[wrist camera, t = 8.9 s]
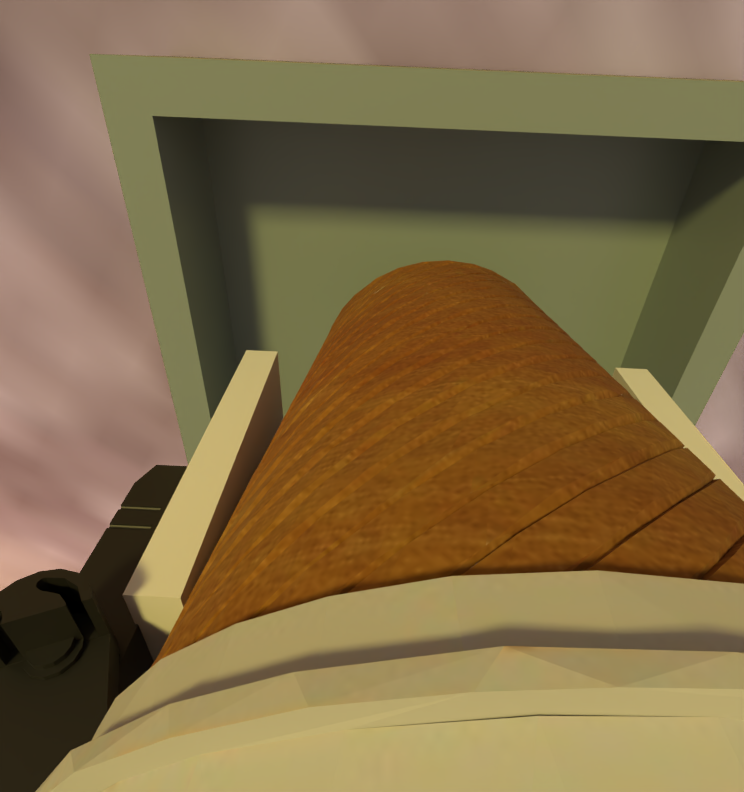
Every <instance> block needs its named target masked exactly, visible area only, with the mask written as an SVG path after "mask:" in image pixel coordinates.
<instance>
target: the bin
mask: <svg viewBox="0 0 744 792" xmlns="http://www.w3.org/2000/svg"><path fill="white" fill-rule="evenodd" d="M90 59H91V63H92V67H93V71H94V75H95V79H96V84H97V88H98V92H99V96H100V100H101V104H102V108H103V113H104V117H105V121H106V125H107V129H108V133H109V137H110V142H111V146H112V150H113V154H114V158H115V162H116V166H117V171H118V175H119V179H120V183H121V187H122V191H123V196H124V200H125V204H126V208H127V212H128V216H129V220H130V225H131V229H132V233H133V237H134V241H135V245H136V249H137V254H138V258H139V262H140V266H141V270H142V274H143V279H144V283H145V287H146V291H147V295H148V299H149V303H150V308H151V312H152V316H153V320H154V324H155V328H156V332H157V337H158V341H159V345H160V349H161V353H162V357H163V361H164V366H165V370H166V374H167V378H168V382H169V386H170V391H171V395H172V399H173V403H174V407H175V411H176V415H177V420H178V424H179V428H180V432H181V436H182V440H183V444H184V449H185V453H186V457H187V461H188V465H189V463H190V461H191V459H192V457H193V455H194V453H195V451H196V449H197V447H198V445H199V443H200V441H201V439H202V437H203V435H204V433H205V431H206V429H207V427H208V425H209V423H210V421H211V419H212V417H213V415H214V413H215V411H216V409H217V407H218V405H219V403H220V401H221V399H222V397H223V395H224V393H225V391H226V390H227V388H228V386H229V384H230V382H231V380H232V378H233V376H234V374H235V372H236V370H237V368H238V366H239V364H240V362H241V360H242V358H243V356H244V354H245V352H246V350H254V351H276V352H278V361H279V373H280V385H281V397H282V408H283V418H284V416H285V415H286V413H287V411H288V409H289V407H290V405H291V403H292V401H293V400H294V398H295V396H296V394H297V392H298V390H299V389H300V387H301V385H302V383H303V381H304V379H305V377H306V375H307V374H308V372H309V370H310V368H311V366H312V364H313V362H314V360H315V359H316V357H317V355H318V353H319V351H320V349H321V347H322V345H323V343H324V341H325V340H326V338H327V336H328V334H329V332H330V330H331V327H332V325H333V323H334V322H335V320H336V318H337V317H338V315H339V313H340V312H341V310H342V308H343V307H344V306H345V305H346V304H347V303H348V302H349V301H350V299H351V298H352V297H353V296H354V295H355V294H357V293H358V292H359V291H360V290H362V289H363V288H364V287H366V286H367V285H368V284H370V283H371V282H372V281H373V280H375V279H376V278H378V277H380V276H382V275H384V274H386V273H389V272H391V271H393V270H395V269H397V268H400V267H404V266H408V265H412V264H416V263H420V262H427V261H446V260H450V261H457V262H464V263H471V264H475V265H478V266H481V267H484V268H487V269H489V270H492V271H494V272H496V273H497V274H499V275H501V276H502V277H504V278H506V279H508V280H509V281H511V282H513V283H515V284H516V285H517V286H518V287H519V288H520V289H521V290H522V291H523V292H524V293H525V294H526V295H527V296H528V297H529V298H530V299H531V300H532V301H533V302H534V303H535V304H536V305H537V306H538V307H539V308H540V309H542V310H543V311H544V312H545V314H546V315H547V316H549V317H550V318H551V319H552V320H553V321H554V322H555V323H557V324H558V326H559V327H560V328H561V329H563V330H564V331H565V332H566V333H567V334H568V335H569V336H570V337H571V338H572V339H573V340H574V341H575V342H576V343H578V344H579V345H580V346H581V347H582V348H583V350H585V351H586V352H587V353H588V354H589V355H590V356H591V357H592V358H594V359H595V360H596V361H597V363H598V364H599V365H600V366H602V367H603V368H604V369H605V370H606V371H607V372H608V373H609V374H610V375H611V376H613V373H614V370H615V368H633V369H647V370H648V371H649V372H650V373H651V374H652V376H653V377H654V378H655V379H656V380H657V382H658V383H659V384H660V385H661V386H662V388H663V389H664V390H665V391H666V392H667V394H668V395H669V396H670V397H671V398H672V400H673V401H674V402H675V403H676V404H677V406H678V407H679V408H680V409H681V410H682V412H683V413H684V414H685V415H686V416H687V418H688V419H689V420H690V421H691V422H692V424H693V425H694V426H695V425H696V423H697V421H698V419H699V417H700V415H701V413H702V411H703V409H704V407H705V405H706V404H707V402H708V400H709V398H710V396H711V394H712V392H713V390H714V388H715V386H716V384H717V382H718V381H719V379H720V377H721V375H722V373H723V371H724V369H725V367H726V365H727V363H728V361H729V359H730V358H731V356H732V354H733V352H734V350H735V348H736V346H737V344H738V342H739V340H740V338H741V337H742V335H743V333H744V81H733V80H710V79H687V78H663V77H640V76H617V75H593V74H570V73H547V72H523V71H500V70H476V69H453V68H430V67H406V66H383V65H360V64H336V63H313V62H290V61H266V60H243V59H220V58H196V57H173V56H140V55H104V54H90Z"/></svg>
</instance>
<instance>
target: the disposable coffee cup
mask: <svg viewBox="0 0 744 792" xmlns="http://www.w3.org/2000/svg"><path fill="white" fill-rule="evenodd" d="M684 446H685V445H684V444H683V443H682V442H681V441H680V440H679V439H678V438H677V437H676V436H675V435H673V434H672V433H671V432H670V431H669V430H668V429H667V428H666V427H665V426H664V425H663V424H662V423H661V422H659V421H658V420H657V419H656V418H655V417H654V416H653V415H652V414H651V413H650V412H649V411H648V410H647V409H646V408H645V407H644V406H643V405H642V404H641V403H640V402H638V401H637V400H636V399H634V398H633V397H632V396H631V394H630V393H629V392H628V391H627V390H626V389H625V388H624V387H623V386H622V385H621V384H619V383H618V382H617V381H616V380H615V379H614V378H613V377H612V376H611V375H610V374H609V373H608V372H607V371H606V370H605V369H604V368H603V367H602V366H600V365H599V364H598V363H597V361H596V360H595V359H594V358H592V357H591V356H590V355H589V354H588V353H587V352H586V351H585V350H583V348H582V347H581V346H580V345H579V344H578V343H576V342H575V341H574V340H573V339H572V338H571V337H570V336H569V335H568V334H567V333H566V332H565V331H564V330H563V329H561V328H560V327H559V326H558V324H557V323H555V322H554V321H553V320H552V319H551V318H550V317H549V316H547V315H546V314H545V312H544V311H543V310H542V309H540V308H539V307H538V306H537V305H536V304H535V303H534V302H533V301H532V300H531V299H530V298H529V297H528V296H527V295H526V294H525V293H524V292H523V291H522V290H521V289H520V288H519V287H518V286H517V285H516V284H515V283H513V282H511V281H509V280H508V279H506V278H504V277H502V276H501V275H499V274H497V273H496V272H494V271H492V270H489V269H487V268H484V267H481V266H478V265H475V264H471V263H464V262H457V261H450V260H446V261H427V262H420V263H416V264H412V265H408V266H404V267H400V268H397V269H395V270H393V271H391V272H389V273H386V274H384V275H382V276H380V277H378V278H376V279H375V280H373V281H372V282H371V283H370V284H368V285H367V286H366V287H364V288H363V289H362V290H360V291H359V292H358V293H357V294H355V295H354V296H353V297H352V298H351V299H350V301H349V302H348V303H347V304H346V305H345V306H344V307H343V308H342V310H341V312H340V313H339V315H338V317H337V318H336V320H335V322H334V323H333V325H332V327H331V330H330V332H329V334H328V336H327V338H326V340H325V341H324V343H323V345H322V347H321V349H320V351H319V353H318V355H317V357H316V359H315V360H314V362H313V364H312V366H311V368H310V370H309V372H308V374H307V375H306V377H305V379H304V381H303V383H302V385H301V387H300V389H299V390H298V392H297V394H296V396H295V398H294V400H293V401H292V403H291V405H290V407H289V409H288V411H287V413H286V415H285V416H284V418H283V420H282V422H281V424H280V426H279V428H278V430H277V432H276V433H275V435H274V437H273V439H272V441H271V443H270V445H269V447H268V449H267V450H266V452H265V454H264V456H263V458H262V460H261V462H260V464H259V465H258V467H257V469H256V470H255V472H254V473H253V475H252V477H251V479H250V481H249V483H248V485H247V487H246V489H245V491H244V493H243V495H242V497H241V499H240V501H239V502H238V504H237V506H236V508H235V510H234V512H233V514H232V516H231V518H230V520H229V522H228V524H227V526H226V528H225V530H224V532H223V534H222V536H221V537H220V539H219V541H218V543H217V545H216V547H215V548H214V550H213V552H212V554H211V556H210V558H209V560H208V562H207V564H206V566H205V568H204V569H203V571H202V573H201V575H200V577H199V579H198V580H197V582H196V584H195V586H194V588H193V590H192V592H191V593H190V595H189V598H188V600H187V602H186V604H185V606H184V608H183V610H182V611H181V613H180V615H179V617H178V619H177V621H176V623H175V625H174V627H173V628H172V630H171V632H170V634H169V636H168V638H167V640H166V642H165V644H164V646H163V647H162V649H161V651H160V653H159V655H158V656H157V658H156V660H155V661H154V663H153V664H152V666H151V667H150V669H149V670H148V671H146V672H145V673H144V674H143V675H142V676H141V677H139V678H138V679H137V680H136V681H135V682H134V683H132V684H131V685H130V686H129V687H128V688H127V689H125V690H124V691H123V692H122V693H121V694H120V695H118V696H117V697H116V698H115V700H114V702H113V703H112V705H111V707H110V709H109V710H108V712H107V714H106V715H105V717H104V719H103V720H102V722H101V724H100V726H99V727H98V729H97V731H96V733H95V735H94V737H93V739H92V741H90V742H88V743H86V744H84V745H81V746H79V747H77V748H75V749H73V750H71V751H70V752H69V753H68V754H67V755H66V757H65V758H64V759H63V760H62V761H61V762H60V764H59V765H58V766H57V767H56V768H55V769H54V771H53V772H52V773H51V774H50V775H49V776H48V778H47V779H46V780H45V781H44V782H43V783H42V784H41V786H40V787H39V788H38V789H37V790H36V791H35V792H744V501H743V500H742V499H741V498H740V497H739V496H738V495H737V494H736V493H735V492H734V491H732V490H731V489H730V488H729V487H728V486H727V485H726V484H725V483H724V482H723V481H722V480H721V479H714V477H715V476H716V475H715V474H714V473H713V472H712V471H711V470H710V469H709V468H708V467H707V466H706V465H705V464H704V463H703V462H702V461H701V460H700V459H699V458H698V457H697V456H696V455H694V454H693V453H692V452H691V451H690V450H689V449H688V448H683V447H684ZM713 479H714V480H713Z"/></svg>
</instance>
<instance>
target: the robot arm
mask: <svg viewBox="0 0 744 792" xmlns="http://www.w3.org/2000/svg"><path fill="white" fill-rule="evenodd" d="M612 377H613V378H614V379H615V380H616V381H617V382H618V383H619V384H621V385H622V386H623V387H624V388H625V389H626V390H627V391H628V392H629V393H630V394H631V396H632V397H633V398H634V399H636V400H637V401H638V402H640V403H641V404H642V405H643V406H644V407H645V408H646V409H647V410H648V411H649V412H650V413H651V414H652V415H653V416H654V417H655V418H656V419H657V420H658V421H659V422H661V423H662V424H663V425H664V426H665V427H666V428H667V429H668V430H669V431H670V432H671V433H672V434H673V435H675V436H676V437H677V438H678V439H679V440H680V441H681V442H682V443H683V444H684V445H685V446H684V447H683V448H688V449H689V450H690V451H691V452H692V453H693V454H694V455H696V456H697V457H698V458H699V459H700V460H701V461H702V462H703V463H704V464H705V465H706V466H707V467H708V468H709V469H710V470H711V471H712V472H713V473H714V474H715V475H716V476H715V477H714V479H721V480H722V481H723V482H724V483H725V484H726V485H727V486H728V487H729V488H730V489H731V490H732V491H734V492H735V493H736V494H737V495H738V496H739V497H740V498H741V499H742V500H743V501H744V485H743V483H742V482H741V481H740V480H739V479H738V477H737V476H736V475H735V474H734V473H733V471H732V470H731V469H730V468H729V467H728V465H727V464H726V463H725V462H724V461H723V459H722V458H721V457H720V456H719V455H718V453H717V452H716V451H715V450H714V449H713V447H712V446H711V445H710V444H709V443H708V441H707V440H706V439H705V438H704V437H703V435H702V434H701V433H700V432H699V431H698V429H697V428H696V427H695V426H694V425H693V424H692V422H691V421H690V420H689V419H688V418H687V416H686V415H685V414H684V413H683V412H682V410H681V409H680V408H679V407H678V406H677V404H676V403H675V402H674V401H673V400H672V398H671V397H670V396H669V395H668V394H667V392H666V391H665V390H664V389H663V388H662V386H661V385H660V384H659V383H658V382H657V380H656V379H655V378H654V377H653V376H652V374H651V373H650V372H649V371H648V370H647V369H633V368H615V370H614V373H613V376H612ZM282 420H283V408H282V397H281V385H280V373H279V361H278V352H276V351H254V350H246V352H245V354H244V356H243V358H242V360H241V362H240V364H239V366H238V368H237V370H236V372H235V374H234V376H233V378H232V380H231V382H230V384H229V386H228V388H227V390H226V391H225V393H224V395H223V397H222V399H221V401H220V403H219V405H218V407H217V409H216V411H215V413H214V415H213V417H212V419H211V421H210V423H209V425H208V427H207V429H206V431H205V433H204V435H203V437H202V439H201V441H200V443H199V445H198V447H197V449H196V451H195V453H194V455H193V457H192V459H191V461H190V463H189V465H188V466H167V465H156V466H155V467H153V468H152V469H151V470H150V471H149V472H147V473H146V474H145V475H144V476H143V477H141V478H140V479H139V480H138V481H137V482H135V483H134V485H133V487H132V488H131V490H130V491H129V493H128V495H127V496H126V498H125V500H124V501H123V503H122V504H121V509H120V510H118V511H117V513H116V514H115V516H114V518H113V519H112V521H111V522H110V527H109V528H107V529H106V531H105V532H104V534H103V536H102V537H101V539H100V540H99V542H98V544H97V545H96V547H95V549H94V550H93V552H92V553H91V555H90V557H89V558H88V560H87V562H86V563H85V565H84V567H83V568H82V570H81V571H80V573H77V572H73V571H68V570H64V569H56V570H48V571H40V572H37V573H35V574H32V575H30V576H27V577H25V578H22V579H19V580H17V581H15V582H14V583H12V584H11V585H9V586H8V587H6V588H5V589H3V590H2V591H0V792H35V791H36V790H37V789H38V788H39V787H40V786H41V784H42V783H43V782H44V781H45V780H46V779H47V778H48V776H49V775H50V774H51V773H52V772H53V771H54V769H55V768H56V767H57V766H58V765H59V764H60V762H61V761H62V760H63V759H64V758H65V757H66V755H67V754H68V753H69V752H70V751H71V750H73V749H75V748H77V747H79V746H81V745H84V744H86V743H88V742H90V741H92V739H93V737H94V735H95V733H96V731H97V729H98V727H99V726H100V724H101V722H102V720H103V719H104V717H105V715H106V714H107V712H108V710H109V709H110V707H111V705H112V703H113V702H114V700H115V698H116V697H117V696H118V695H120V694H121V693H122V692H123V691H124V690H125V689H127V688H128V687H129V686H130V685H131V684H132V683H134V682H135V681H136V680H137V679H138V678H139V677H141V676H142V675H143V674H144V673H145V672H146V671H148V670H149V669H150V667H151V666H152V664H153V663H154V661H155V660H156V658H157V656H158V655H159V653H160V651H161V649H162V647H163V646H164V644H165V642H166V640H167V638H168V636H169V634H170V632H171V630H172V628H173V627H174V625H175V623H176V621H177V619H178V617H179V615H180V613H181V611H182V610H183V608H184V606H185V604H186V602H187V600H188V598H189V595H190V593H191V592H192V590H193V588H194V586H195V584H196V582H197V580H198V579H199V577H200V575H201V573H202V571H203V569H204V568H205V566H206V564H207V562H208V560H209V558H210V556H211V554H212V552H213V550H214V548H215V547H216V545H217V543H218V541H219V539H220V537H221V536H222V534H223V532H224V530H225V528H226V526H227V524H228V522H229V520H230V518H231V516H232V514H233V512H234V510H235V508H236V506H237V504H238V502H239V501H240V499H241V497H242V495H243V493H244V491H245V489H246V487H247V485H248V483H249V481H250V479H251V477H252V475H253V473H254V472H255V470H256V469H257V467H258V465H259V464H260V462H261V460H262V458H263V456H264V454H265V452H266V450H267V449H268V447H269V445H270V443H271V441H272V439H273V437H274V435H275V433H276V432H277V430H278V428H279V426H280V424H281V422H282ZM714 479H713V480H714Z"/></svg>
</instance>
